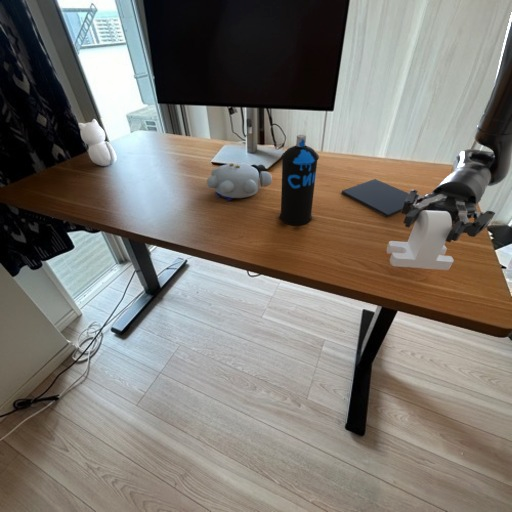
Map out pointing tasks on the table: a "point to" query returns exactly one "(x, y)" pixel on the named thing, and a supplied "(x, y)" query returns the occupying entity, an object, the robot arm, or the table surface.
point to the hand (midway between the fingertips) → (428, 229)
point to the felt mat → (378, 197)
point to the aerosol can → (298, 183)
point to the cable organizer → (424, 243)
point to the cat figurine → (97, 143)
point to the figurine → (238, 180)
